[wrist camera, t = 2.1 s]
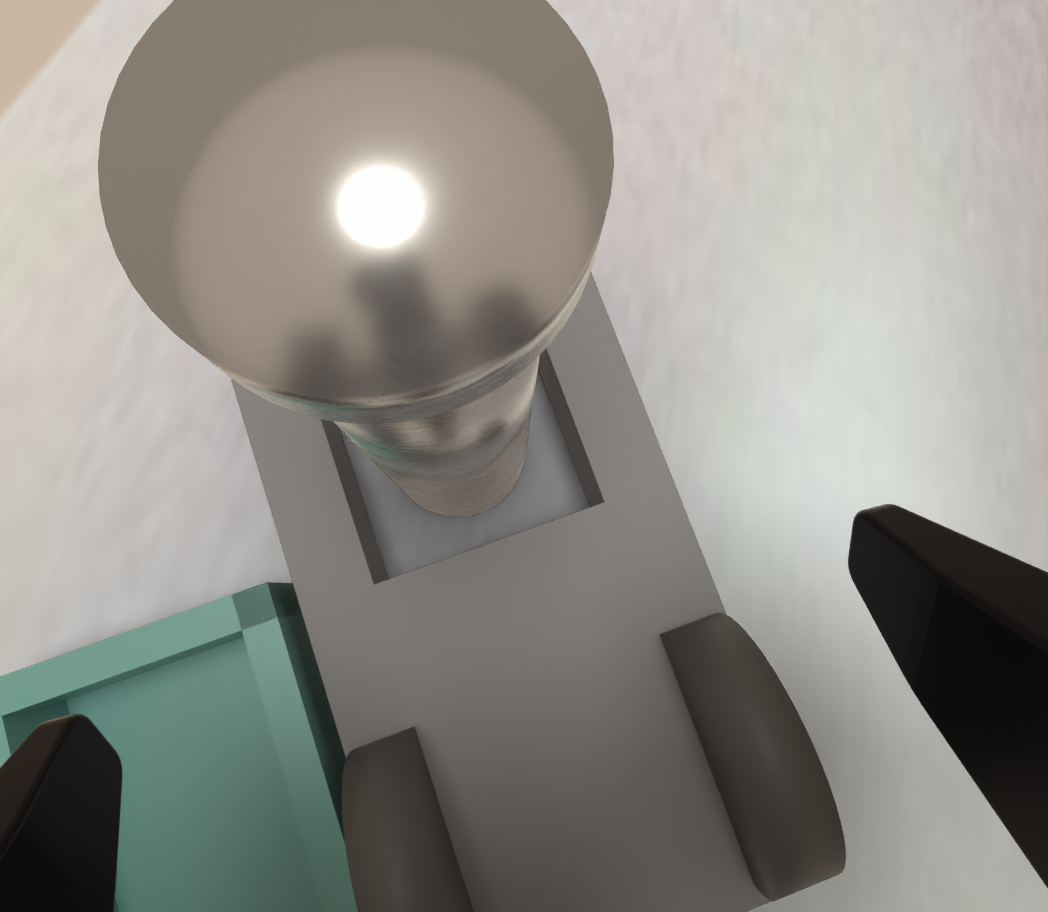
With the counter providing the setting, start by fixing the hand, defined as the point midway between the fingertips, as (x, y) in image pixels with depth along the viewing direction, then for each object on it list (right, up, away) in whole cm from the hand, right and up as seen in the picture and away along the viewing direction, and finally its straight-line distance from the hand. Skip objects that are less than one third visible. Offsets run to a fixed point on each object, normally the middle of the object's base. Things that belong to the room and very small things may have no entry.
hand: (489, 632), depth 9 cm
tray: (-7, -7, +10) cm, 14 cm away
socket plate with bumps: (0, -2, +11) cm, 11 cm away
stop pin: (-1, +2, +12) cm, 12 cm away
